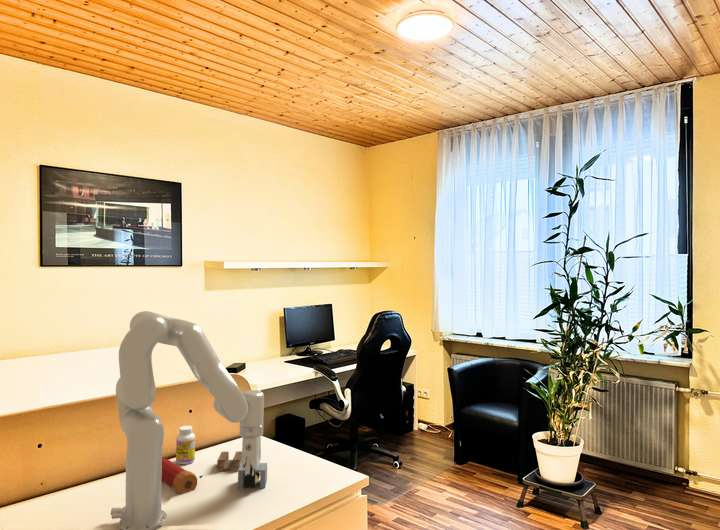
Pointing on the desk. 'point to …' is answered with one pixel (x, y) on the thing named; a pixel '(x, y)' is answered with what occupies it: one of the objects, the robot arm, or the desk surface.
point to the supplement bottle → (185, 445)
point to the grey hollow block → (261, 468)
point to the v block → (229, 462)
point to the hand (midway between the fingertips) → (249, 486)
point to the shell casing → (178, 477)
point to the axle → (257, 477)
